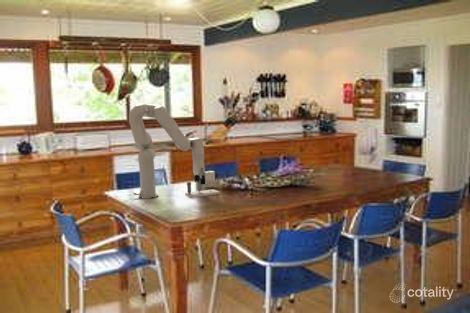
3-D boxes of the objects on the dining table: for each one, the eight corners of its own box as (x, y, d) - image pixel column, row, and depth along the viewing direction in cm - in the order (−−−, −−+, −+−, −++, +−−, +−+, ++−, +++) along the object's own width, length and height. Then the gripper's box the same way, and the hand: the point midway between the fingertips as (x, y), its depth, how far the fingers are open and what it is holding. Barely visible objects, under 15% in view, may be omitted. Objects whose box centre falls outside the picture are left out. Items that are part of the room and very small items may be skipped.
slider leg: (198, 192, 321) (197, 181, 320) (196, 192, 324) (196, 181, 323) (202, 192, 322) (202, 181, 321) (200, 191, 325) (200, 180, 324)
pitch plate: (190, 197, 315) (189, 183, 314) (184, 195, 324) (184, 180, 323) (219, 194, 324) (219, 179, 323) (213, 191, 333) (212, 177, 332)
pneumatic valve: (218, 186, 350) (217, 169, 348) (202, 188, 345) (201, 171, 343) (215, 185, 355) (214, 168, 353) (199, 187, 350) (198, 170, 349)
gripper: (188, 156, 326) (189, 182, 328) (198, 158, 311) (199, 185, 313) (198, 155, 329) (200, 180, 332) (209, 157, 314) (210, 184, 316)
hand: (200, 183), depth 322 cm, fingers open, 9 cm apart
